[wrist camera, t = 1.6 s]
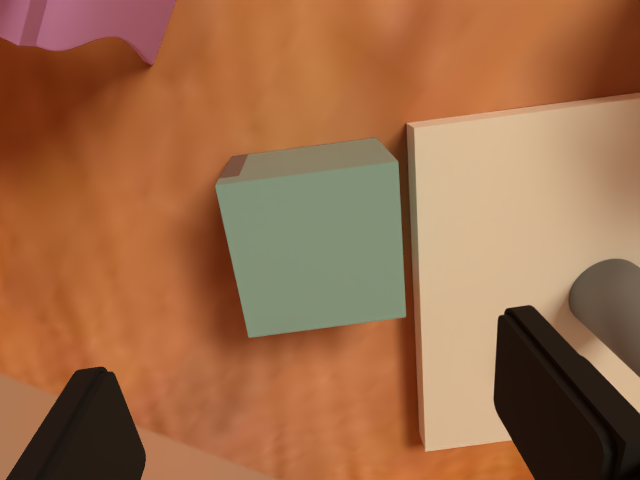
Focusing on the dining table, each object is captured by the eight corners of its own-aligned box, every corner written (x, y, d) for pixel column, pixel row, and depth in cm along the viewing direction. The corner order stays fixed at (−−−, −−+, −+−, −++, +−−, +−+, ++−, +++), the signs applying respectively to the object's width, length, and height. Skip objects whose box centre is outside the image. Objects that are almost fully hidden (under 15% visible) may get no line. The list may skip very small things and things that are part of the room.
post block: (720, 392, 29) (830, 480, 23) (419, 432, 29) (451, 531, 23) (820, 68, 21) (1025, 75, 15) (406, 123, 21) (450, 151, 15)
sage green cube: (384, 266, 24) (406, 317, 20) (257, 283, 24) (248, 337, 20) (376, 137, 21) (398, 161, 17) (231, 156, 21) (214, 185, 17)
